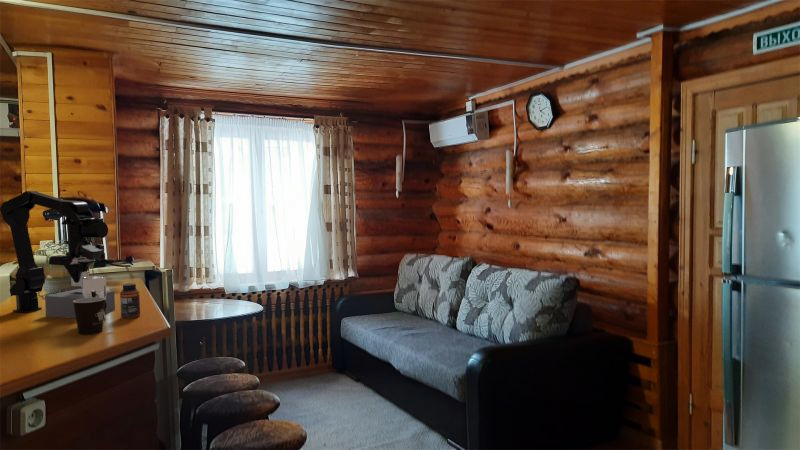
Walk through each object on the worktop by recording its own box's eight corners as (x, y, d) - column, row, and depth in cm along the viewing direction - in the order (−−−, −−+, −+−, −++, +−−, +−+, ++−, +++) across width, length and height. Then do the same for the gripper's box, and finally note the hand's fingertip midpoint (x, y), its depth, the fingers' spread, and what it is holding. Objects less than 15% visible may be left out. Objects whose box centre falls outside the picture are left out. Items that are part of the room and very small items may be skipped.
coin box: (45, 316, 197) (45, 295, 196) (79, 307, 210) (78, 288, 209) (83, 319, 192) (82, 298, 192) (115, 310, 205) (114, 290, 205)
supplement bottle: (134, 314, 199) (133, 282, 198) (143, 316, 196) (142, 283, 195) (117, 317, 194) (116, 284, 194) (126, 319, 191) (125, 286, 190)
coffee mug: (84, 337, 169) (83, 303, 168) (68, 333, 174) (67, 300, 173) (121, 328, 179) (120, 297, 178) (105, 325, 183) (104, 294, 183)
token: (71, 285, 200) (70, 271, 199) (76, 284, 202) (75, 270, 201) (82, 286, 198) (82, 272, 198) (87, 285, 200) (86, 271, 200)
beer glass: (97, 325, 183) (95, 279, 182) (78, 324, 184) (76, 278, 183) (112, 320, 190) (110, 275, 189) (94, 319, 191) (92, 275, 190)
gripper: (73, 240, 188) (75, 287, 189) (116, 235, 205) (118, 278, 207) (46, 239, 191) (48, 286, 192) (91, 235, 209) (93, 277, 210)
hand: (79, 282), depth 200 cm, fingers closed on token, 2 cm apart
